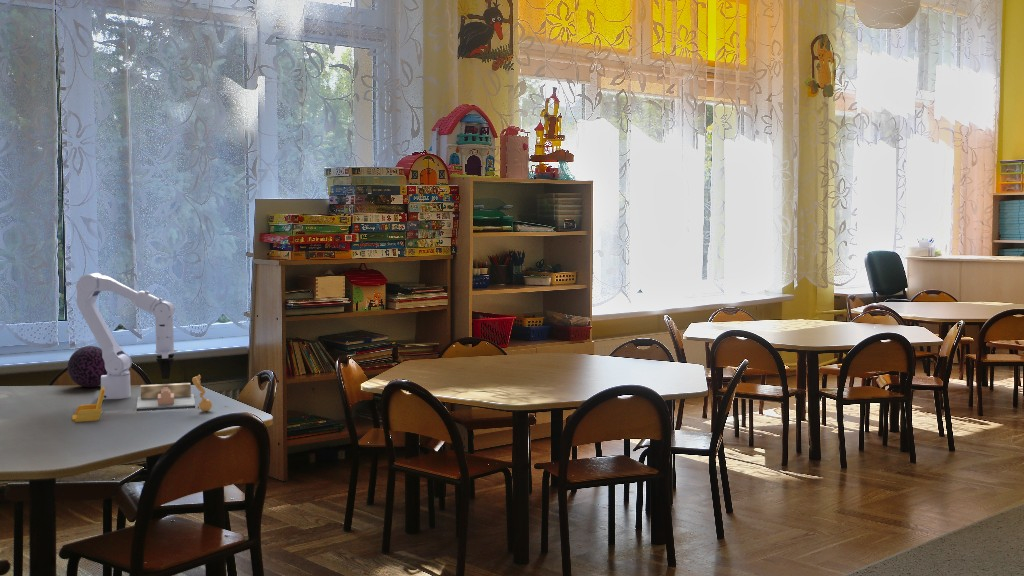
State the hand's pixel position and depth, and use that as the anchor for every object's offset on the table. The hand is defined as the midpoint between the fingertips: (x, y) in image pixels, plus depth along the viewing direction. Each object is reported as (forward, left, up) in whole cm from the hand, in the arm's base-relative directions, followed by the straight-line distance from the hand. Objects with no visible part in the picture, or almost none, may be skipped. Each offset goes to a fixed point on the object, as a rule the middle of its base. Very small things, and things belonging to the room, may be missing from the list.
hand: (165, 376), depth 346 cm
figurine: (+11, -25, -8) cm, 28 cm away
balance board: (0, -8, -8) cm, 11 cm away
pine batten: (0, 0, -7) cm, 7 cm away
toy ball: (-26, +35, -8) cm, 44 cm away
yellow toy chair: (-23, -24, -8) cm, 34 cm away
